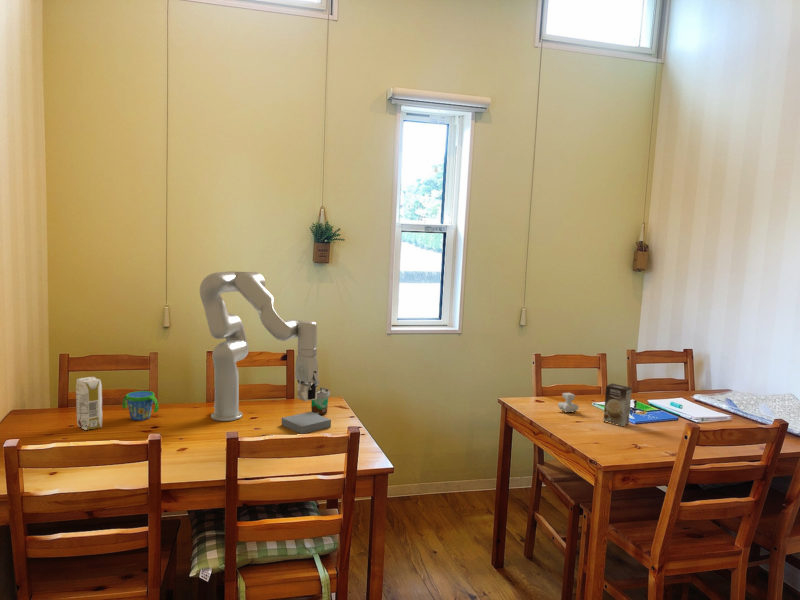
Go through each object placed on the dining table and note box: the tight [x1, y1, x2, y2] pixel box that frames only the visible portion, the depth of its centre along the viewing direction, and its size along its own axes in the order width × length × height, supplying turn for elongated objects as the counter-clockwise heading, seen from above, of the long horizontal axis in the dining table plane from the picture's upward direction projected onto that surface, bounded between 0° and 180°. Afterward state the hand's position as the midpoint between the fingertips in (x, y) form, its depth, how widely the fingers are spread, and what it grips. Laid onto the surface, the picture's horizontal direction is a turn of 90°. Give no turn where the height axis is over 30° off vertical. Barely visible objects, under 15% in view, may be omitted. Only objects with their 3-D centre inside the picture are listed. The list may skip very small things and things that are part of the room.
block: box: [296, 382, 318, 402], centre depth 237 cm, size 6×6×6 cm
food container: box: [310, 386, 331, 416], centre depth 255 cm, size 12×6×10 cm, turn 168°
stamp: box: [557, 392, 580, 413], centre depth 269 cm, size 9×7×8 cm
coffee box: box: [603, 383, 632, 427], centre depth 254 cm, size 9×6×16 cm
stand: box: [281, 411, 332, 435], centre depth 238 cm, size 14×14×3 cm
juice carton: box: [75, 376, 103, 431], centre depth 228 cm, size 8×9×19 cm
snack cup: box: [121, 390, 160, 421], centre depth 241 cm, size 16×10×10 cm
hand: (307, 396), depth 237 cm, fingers closed on block, 5 cm apart
